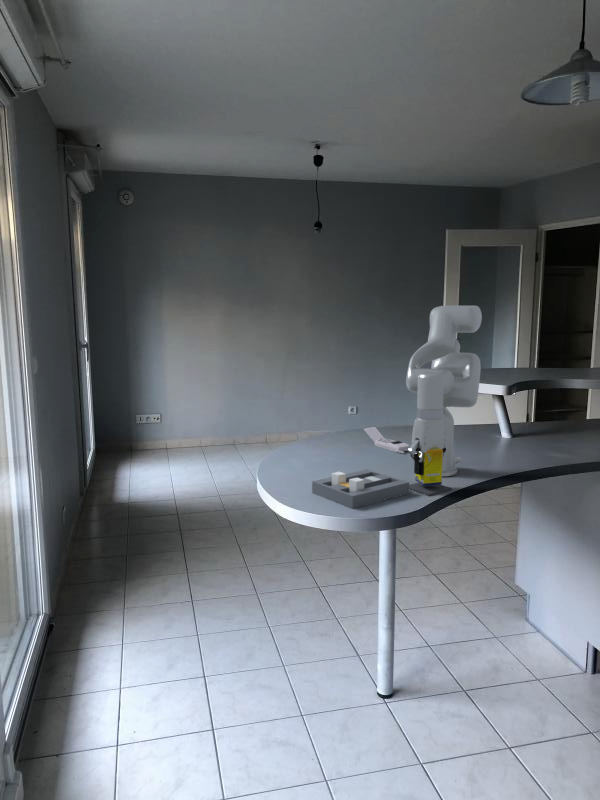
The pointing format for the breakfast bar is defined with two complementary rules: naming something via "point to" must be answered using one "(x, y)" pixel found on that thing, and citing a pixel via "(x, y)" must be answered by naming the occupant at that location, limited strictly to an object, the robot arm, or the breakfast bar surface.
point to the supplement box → (431, 468)
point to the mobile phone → (386, 441)
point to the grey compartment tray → (373, 491)
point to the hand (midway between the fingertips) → (428, 471)
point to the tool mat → (429, 489)
